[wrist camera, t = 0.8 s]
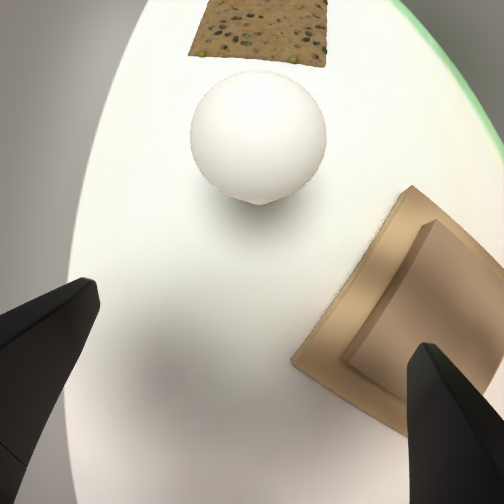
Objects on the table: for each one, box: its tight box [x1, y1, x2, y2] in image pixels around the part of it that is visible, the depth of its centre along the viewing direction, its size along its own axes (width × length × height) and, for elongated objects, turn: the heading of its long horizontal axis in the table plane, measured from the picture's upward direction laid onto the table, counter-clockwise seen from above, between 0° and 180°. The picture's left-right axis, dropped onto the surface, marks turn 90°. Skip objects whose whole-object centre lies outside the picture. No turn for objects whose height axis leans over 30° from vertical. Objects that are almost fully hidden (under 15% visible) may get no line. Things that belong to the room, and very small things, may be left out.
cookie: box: [188, 0, 328, 67], centre depth 24 cm, size 12×12×1 cm
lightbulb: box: [190, 71, 326, 205], centre depth 16 cm, size 6×6×11 cm
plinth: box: [291, 185, 504, 438], centre depth 18 cm, size 14×14×4 cm
